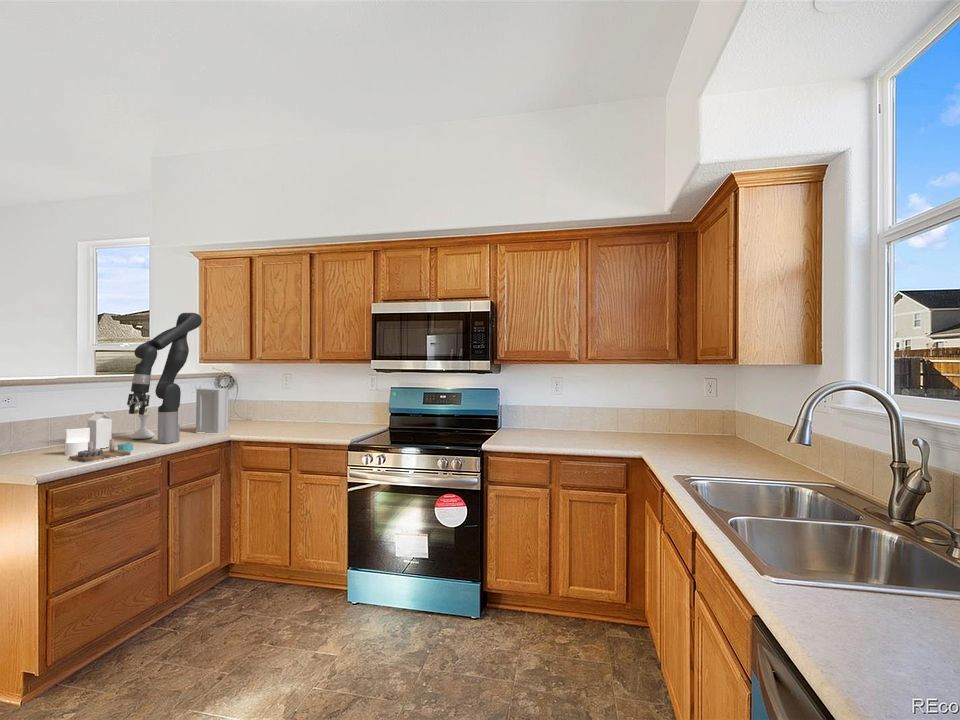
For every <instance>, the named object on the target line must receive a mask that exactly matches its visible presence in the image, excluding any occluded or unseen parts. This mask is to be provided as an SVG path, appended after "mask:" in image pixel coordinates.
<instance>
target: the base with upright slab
mask: <svg viewBox="0 0 960 720" xmlns="http://www.w3.org/2000/svg"><path fill="white" fill-rule="evenodd" d="M88 442H90V428H88V427H84V428H70V429H68V428H66V429H65V430H64V456H68V455H70V456H75V455H76V454H78V452H80V451H85V450H88Z"/></svg>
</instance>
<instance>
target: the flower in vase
mask: <svg viewBox="0 0 960 720" xmlns="http://www.w3.org/2000/svg"><path fill="white" fill-rule="evenodd" d="M127 406H128V408H130V406H129V405H127ZM136 407H137V408H138V409H135V411H134V414H135V415H136V414H138V415H137V416H138V418H139V420H140V427H139V429H137V430H136V431H135V432H133V433H132V434H131V436H130V437H131V439H135V440H146V439H147V440H148V439H151V438H154V437H155V436H156V434H155V433H154V431H152V430H150V429H149V428H147V426H146V424H147V423H146V422H147V418H148V417H149V414H145V413H147V412H148V408H145V411H144V415H139V408H140V405H139V404H136V406H135V408H136ZM134 414H133V415H134Z"/></svg>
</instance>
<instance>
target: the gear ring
mask: <svg viewBox="0 0 960 720" xmlns="http://www.w3.org/2000/svg"><path fill="white" fill-rule="evenodd" d="M117 450H121V451H128V452H132V451H131V450H133V451H134V443H133V442H122V443H118V444H117Z"/></svg>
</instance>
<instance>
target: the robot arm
mask: <svg viewBox="0 0 960 720" xmlns="http://www.w3.org/2000/svg"><path fill="white" fill-rule="evenodd" d="M175 323H176V324H175V326H174V327H171V328H169V329H166V330H165V331H162V332H161V333H159V334H157V335H156V336H155V337H154V338H152V339H150V340H147V341H146V342H144V343H141V344H139V345H138V346H137V347H136V348H135V350H134V356H135V357H136V358H138V359H141V361H140V362H138V363H136V365H135V367H134V372H133V373H134V374H133V377H132V381H131V388H130V392H131V393H129V394H128V397H127V403H126V405H127V406H130V407H128V414H129V415H134V411H135V410H136V407H135V406H136V404H139V408H138V410H139V412H138V415H145V413H144V411H145V409H146V407H149V405H150V404H149V403H150V397H151V396H150V394H148V393H149V392H150V388H151V387H150V386H151V375H152V370H153V369H152V367H153V366H154V363H155V362H156V360H157V357H158V351H160V350H161V351H162V350H163V349H165V348H166V347H168V346H169V345H170V344H171V345H170V347H169V350H168V354H167V358H166V360H165V361H166V362H165V364H164V367H163V370H162V374H161V376H160V378H159V380H158V382H157V384H156V387H155V392H154V393H155V395H156V397H157V398H158V399H161V400H162V404H161V405H160V406H158V408H157V444H159V443H166V444H172V443H171V442H175V443H178V442H177V441H179V442H180V432H181V431H180V427H181V426H180V424H179V408H180V405H181V397H182V396H181V393H182V392H181V388H180V386H179V384H177V383H175V379H176V377H177V375H178V373H179V372H180V371H181V369H183V367H184V366H185V364H186V362H187V361H188V356H189V351H190V349H189V344H188V333H189V332H191V331H193V330H196V329H197V328H199V327H200V326H201V325H202V323H203V318H202V316H201V315H200V314H198V313H197V312H182V313H180V314H179V315H178V317H177V320H176V322H175Z"/></svg>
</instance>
